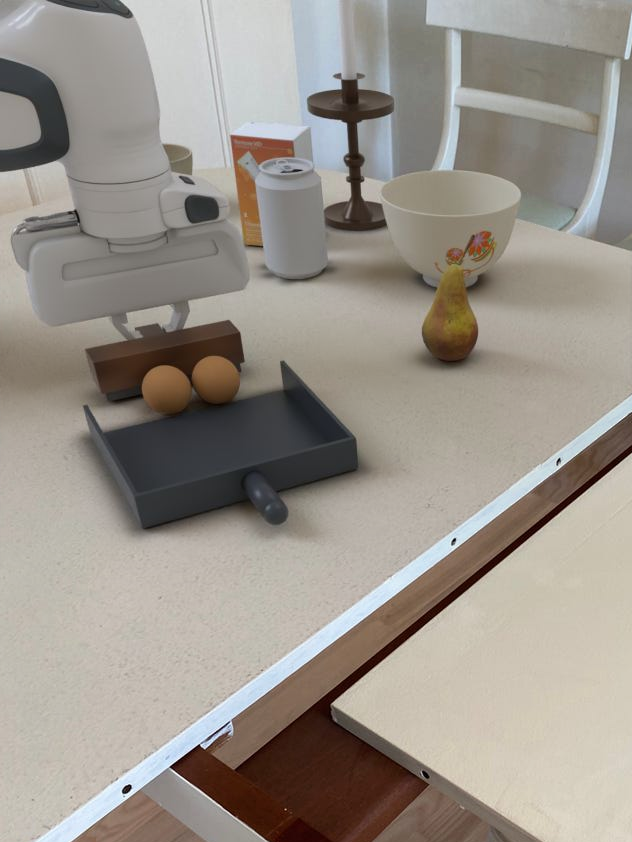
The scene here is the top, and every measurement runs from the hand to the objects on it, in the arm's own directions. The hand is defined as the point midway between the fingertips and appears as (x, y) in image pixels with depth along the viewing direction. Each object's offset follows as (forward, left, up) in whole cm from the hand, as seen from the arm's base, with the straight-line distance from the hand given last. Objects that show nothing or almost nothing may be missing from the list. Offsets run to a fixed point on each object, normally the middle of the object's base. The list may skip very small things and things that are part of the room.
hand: (156, 348), depth 97 cm
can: (+22, +17, -2) cm, 28 cm away
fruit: (+27, -12, -2) cm, 29 cm away
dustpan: (0, -22, -2) cm, 22 cm away
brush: (0, -2, -2) cm, 2 cm away
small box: (+24, +27, -2) cm, 36 cm away
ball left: (-2, -9, 0) cm, 9 cm away
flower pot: (+14, +45, -2) cm, 48 cm away
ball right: (+3, -9, 0) cm, 10 cm away
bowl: (+37, +6, -2) cm, 37 cm away
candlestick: (+36, +30, -2) cm, 47 cm away
